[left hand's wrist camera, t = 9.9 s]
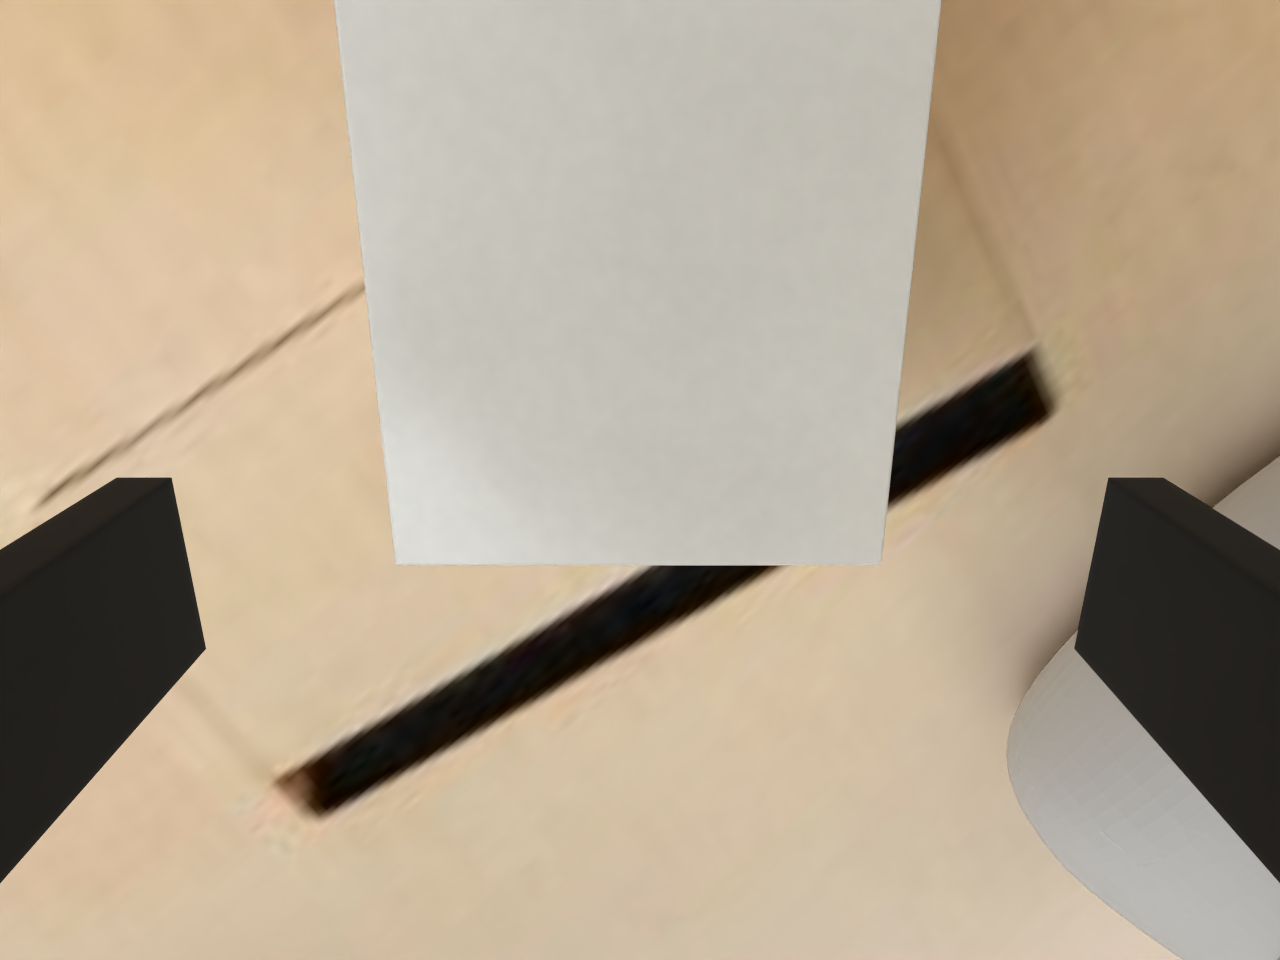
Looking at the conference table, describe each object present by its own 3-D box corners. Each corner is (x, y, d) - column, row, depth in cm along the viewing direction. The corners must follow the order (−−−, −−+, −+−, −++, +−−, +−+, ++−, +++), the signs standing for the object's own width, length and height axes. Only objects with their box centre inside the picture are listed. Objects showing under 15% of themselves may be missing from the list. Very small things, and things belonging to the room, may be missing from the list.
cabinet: (444, -189, 23) (279, -479, 13) (832, -189, 23) (994, -479, 13) (484, 416, 29) (394, 566, 18) (793, 416, 29) (882, 566, 18)
